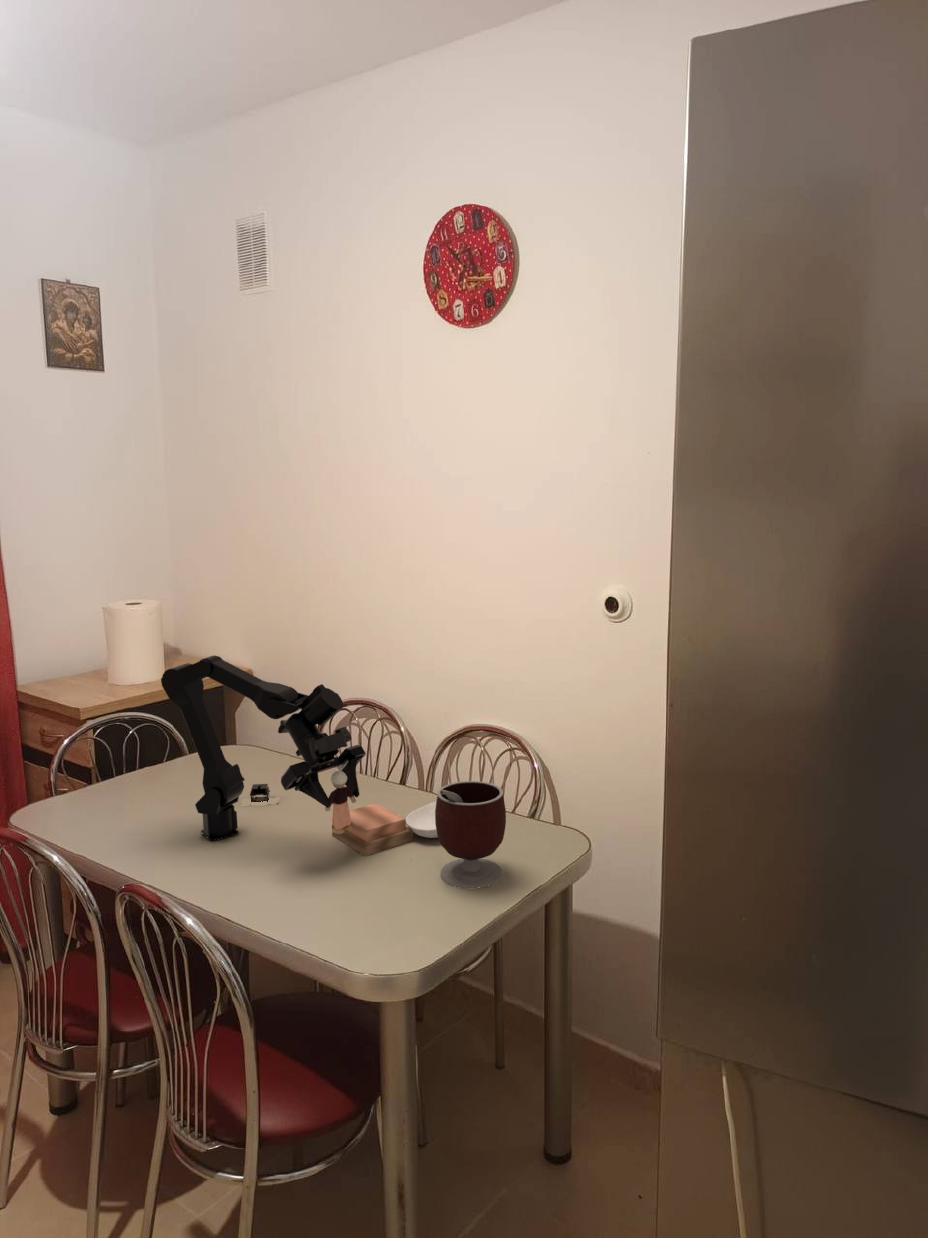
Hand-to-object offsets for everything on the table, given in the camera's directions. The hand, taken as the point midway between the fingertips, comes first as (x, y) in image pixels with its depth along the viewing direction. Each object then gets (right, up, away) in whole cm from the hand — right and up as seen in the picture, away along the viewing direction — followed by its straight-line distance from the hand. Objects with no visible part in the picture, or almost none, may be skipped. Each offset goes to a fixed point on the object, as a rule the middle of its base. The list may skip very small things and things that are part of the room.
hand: (344, 801), depth 174 cm
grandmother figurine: (-1, -7, +2) cm, 7 cm away
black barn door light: (-26, -9, +37) cm, 46 cm away
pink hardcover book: (+4, -11, +14) cm, 19 cm away
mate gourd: (+25, -14, -4) cm, 29 cm away
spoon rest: (+22, -10, +20) cm, 31 cm away
